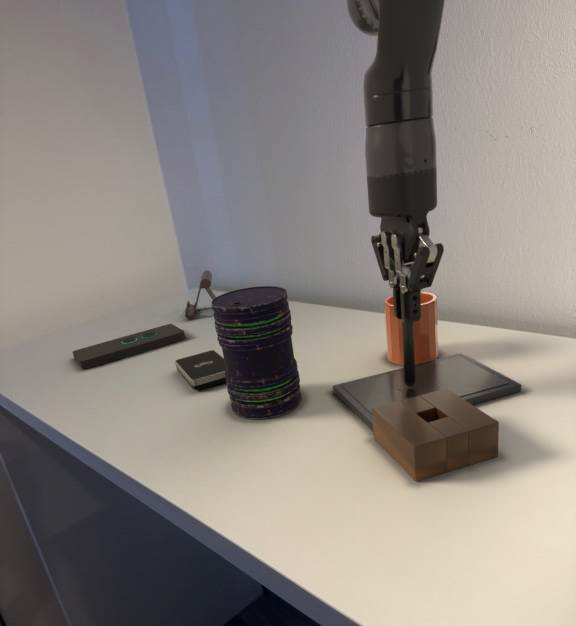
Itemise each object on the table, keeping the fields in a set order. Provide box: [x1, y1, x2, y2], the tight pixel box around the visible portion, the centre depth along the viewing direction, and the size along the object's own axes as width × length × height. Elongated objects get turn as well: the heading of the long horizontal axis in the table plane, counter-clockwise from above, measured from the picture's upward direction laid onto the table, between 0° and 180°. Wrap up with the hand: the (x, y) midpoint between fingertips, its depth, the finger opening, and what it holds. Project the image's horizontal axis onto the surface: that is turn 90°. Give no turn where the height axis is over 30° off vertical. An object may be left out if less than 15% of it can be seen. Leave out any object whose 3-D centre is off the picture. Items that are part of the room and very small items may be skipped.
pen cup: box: [383, 291, 439, 367], centre depth 80 cm, size 7×7×9 cm
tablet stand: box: [184, 270, 217, 321], centre depth 119 cm, size 9×8×8 cm
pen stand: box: [372, 388, 500, 482], centre depth 57 cm, size 9×9×4 cm
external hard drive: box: [174, 349, 227, 391], centre depth 86 cm, size 7×11×2 cm, turn 25°
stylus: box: [400, 279, 416, 386], centre depth 67 cm, size 1×1×14 cm
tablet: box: [332, 352, 522, 433], centre depth 70 cm, size 20×13×1 cm, turn 107°
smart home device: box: [72, 323, 186, 370], centre depth 104 cm, size 8×2×20 cm
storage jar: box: [210, 285, 302, 420], centre depth 71 cm, size 10×10×15 cm
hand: (407, 318), depth 66 cm, fingers closed on stylus, 1 cm apart
